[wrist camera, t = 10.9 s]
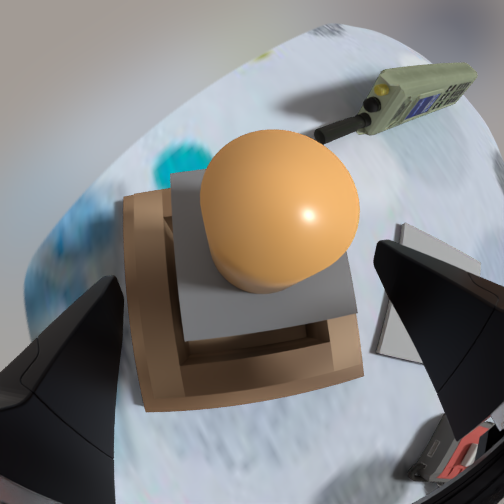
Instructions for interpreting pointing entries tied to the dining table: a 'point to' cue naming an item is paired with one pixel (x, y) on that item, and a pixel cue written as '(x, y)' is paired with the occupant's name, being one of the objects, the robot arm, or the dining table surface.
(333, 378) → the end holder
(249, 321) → the connector plug
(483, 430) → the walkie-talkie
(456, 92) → the handheld radio
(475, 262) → the mat
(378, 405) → the dining table surface
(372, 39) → the dining table surface
